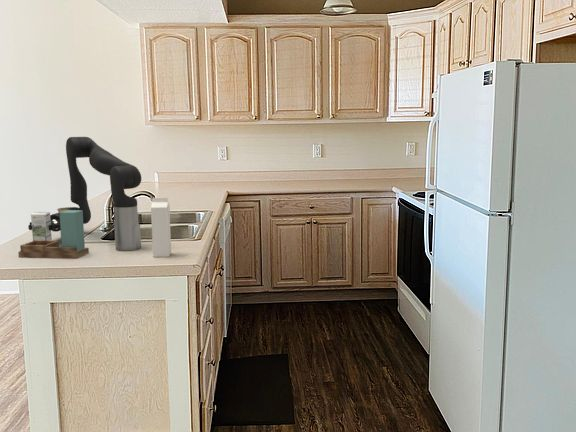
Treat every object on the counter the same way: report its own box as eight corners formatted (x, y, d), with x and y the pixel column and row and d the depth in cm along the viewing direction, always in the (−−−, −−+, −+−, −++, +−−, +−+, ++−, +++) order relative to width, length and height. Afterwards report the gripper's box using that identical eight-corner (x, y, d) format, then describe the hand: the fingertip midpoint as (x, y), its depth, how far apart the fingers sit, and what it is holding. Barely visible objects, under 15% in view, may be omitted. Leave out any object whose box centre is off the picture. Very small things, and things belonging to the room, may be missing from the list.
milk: (155, 253, 222) (153, 197, 219) (171, 253, 222) (169, 196, 219) (152, 257, 216) (150, 198, 213) (169, 256, 216) (166, 198, 213)
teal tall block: (84, 248, 222) (82, 210, 219) (77, 252, 216) (74, 212, 214) (68, 248, 223) (66, 210, 220) (60, 251, 217) (58, 212, 214)
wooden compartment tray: (88, 252, 224) (88, 241, 223) (76, 258, 214) (75, 246, 213) (33, 251, 227) (32, 240, 226) (18, 257, 217) (17, 245, 216)
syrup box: (52, 246, 237) (50, 211, 234) (47, 249, 231) (44, 213, 229) (38, 246, 236) (36, 211, 234) (33, 249, 231) (30, 213, 228)
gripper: (44, 212, 247) (22, 218, 231) (75, 212, 245) (55, 218, 229) (45, 229, 248) (23, 236, 232) (76, 230, 246) (56, 237, 230)
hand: (39, 227), depth 231 cm, fingers open, 8 cm apart
